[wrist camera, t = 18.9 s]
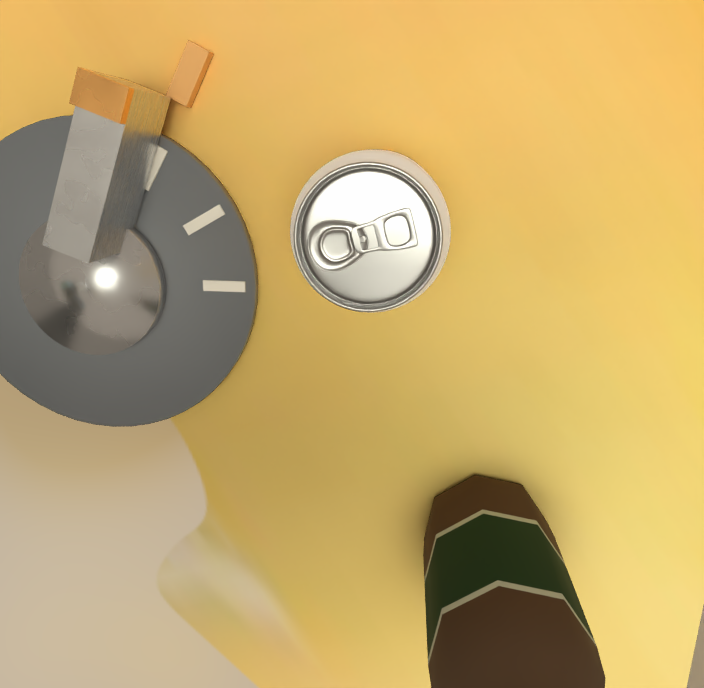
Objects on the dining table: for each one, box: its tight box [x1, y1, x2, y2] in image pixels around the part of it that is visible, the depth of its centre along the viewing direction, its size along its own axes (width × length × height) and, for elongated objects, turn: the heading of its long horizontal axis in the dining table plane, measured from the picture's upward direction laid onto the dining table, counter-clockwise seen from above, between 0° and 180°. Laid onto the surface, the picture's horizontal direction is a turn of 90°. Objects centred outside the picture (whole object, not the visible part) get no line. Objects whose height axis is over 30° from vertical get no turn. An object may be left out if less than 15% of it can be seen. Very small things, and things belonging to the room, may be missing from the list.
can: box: [290, 150, 451, 312], centre depth 30 cm, size 6×6×12 cm
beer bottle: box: [423, 475, 605, 688], centre depth 29 cm, size 8×8×24 cm
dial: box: [19, 67, 171, 355], centre depth 33 cm, size 15×8×5 cm, turn 159°
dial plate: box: [0, 116, 258, 426], centre depth 37 cm, size 18×18×1 cm
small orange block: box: [166, 40, 213, 108], centre depth 34 cm, size 3×1×1 cm, turn 152°
